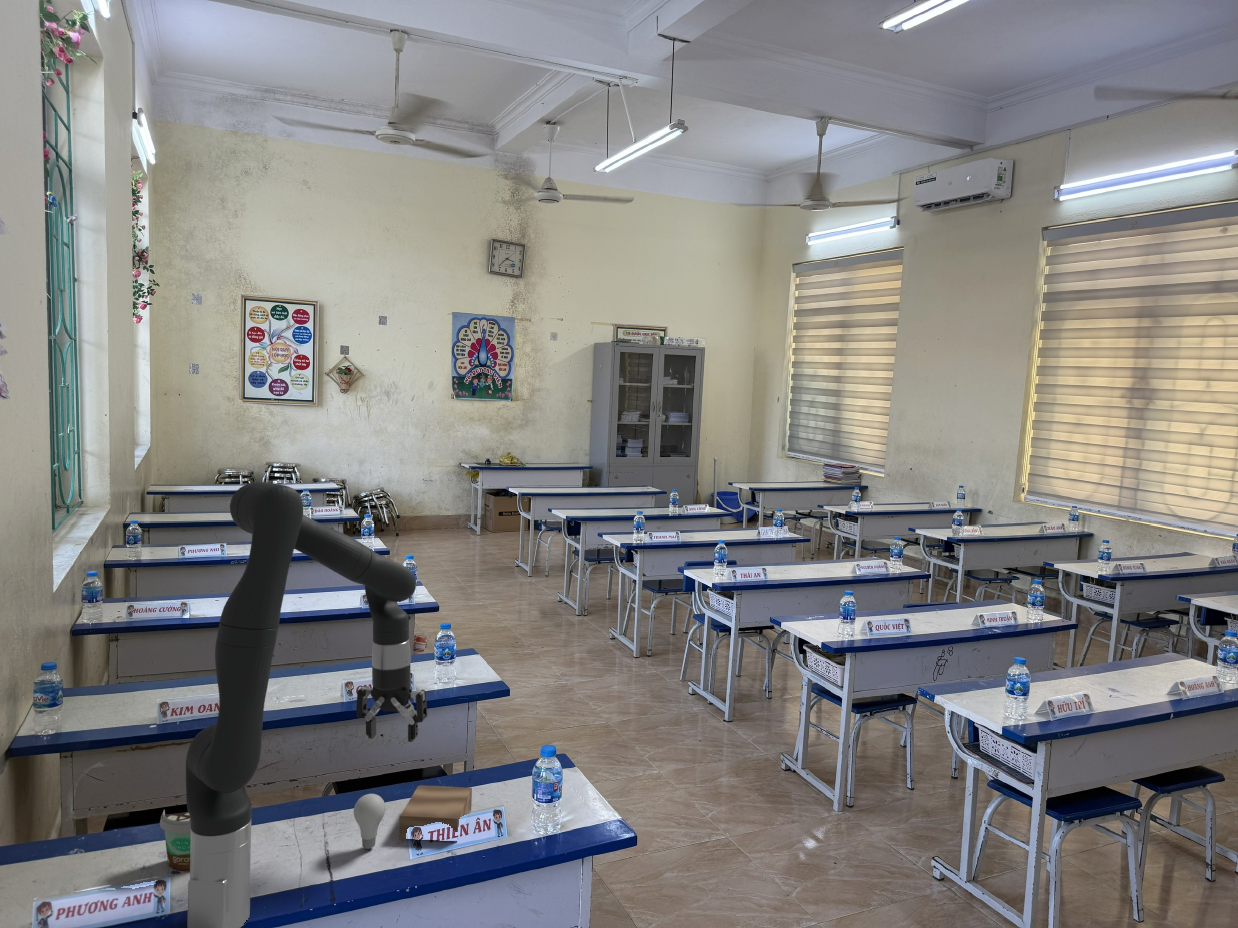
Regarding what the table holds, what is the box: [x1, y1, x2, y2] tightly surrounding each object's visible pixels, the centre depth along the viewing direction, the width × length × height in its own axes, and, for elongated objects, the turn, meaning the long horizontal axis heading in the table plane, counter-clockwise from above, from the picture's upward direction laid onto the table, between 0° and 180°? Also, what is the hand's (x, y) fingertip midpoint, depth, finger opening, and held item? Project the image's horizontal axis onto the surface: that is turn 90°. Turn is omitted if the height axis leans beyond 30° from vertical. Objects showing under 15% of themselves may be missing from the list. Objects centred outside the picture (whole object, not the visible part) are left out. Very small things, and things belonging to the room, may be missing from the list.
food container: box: [159, 809, 191, 873], centre depth 150 cm, size 12×6×10 cm, turn 105°
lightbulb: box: [353, 793, 386, 850], centre depth 159 cm, size 6×6×11 cm
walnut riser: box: [398, 784, 473, 841], centre depth 169 cm, size 14×12×5 cm
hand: (392, 738), depth 161 cm, fingers open, 8 cm apart
